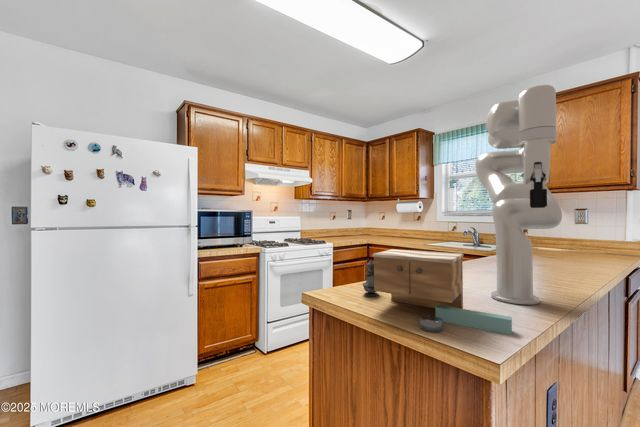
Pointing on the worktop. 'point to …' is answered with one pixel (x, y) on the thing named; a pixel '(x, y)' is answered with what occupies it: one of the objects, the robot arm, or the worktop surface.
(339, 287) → the worktop surface
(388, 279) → the cabinet
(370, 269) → the grey statuette
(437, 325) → the steel token
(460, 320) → the teal blade
